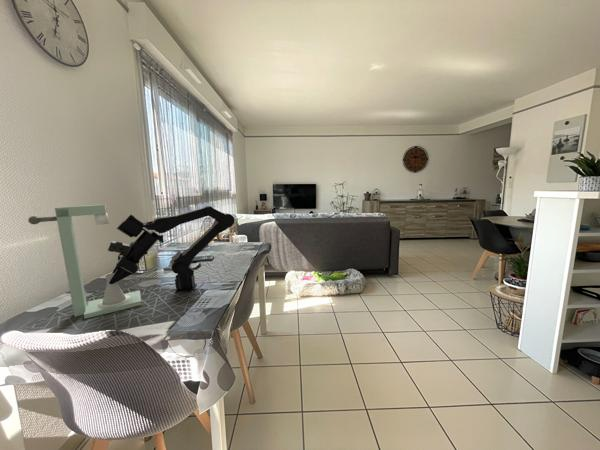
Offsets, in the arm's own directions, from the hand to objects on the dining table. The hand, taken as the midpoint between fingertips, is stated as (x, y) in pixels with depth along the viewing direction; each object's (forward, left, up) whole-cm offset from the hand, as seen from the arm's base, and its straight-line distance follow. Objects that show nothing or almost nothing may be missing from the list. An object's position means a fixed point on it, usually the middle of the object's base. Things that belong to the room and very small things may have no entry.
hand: (110, 280), depth 91 cm
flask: (0, 0, -8) cm, 8 cm away
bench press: (+4, +2, -10) cm, 11 cm away
